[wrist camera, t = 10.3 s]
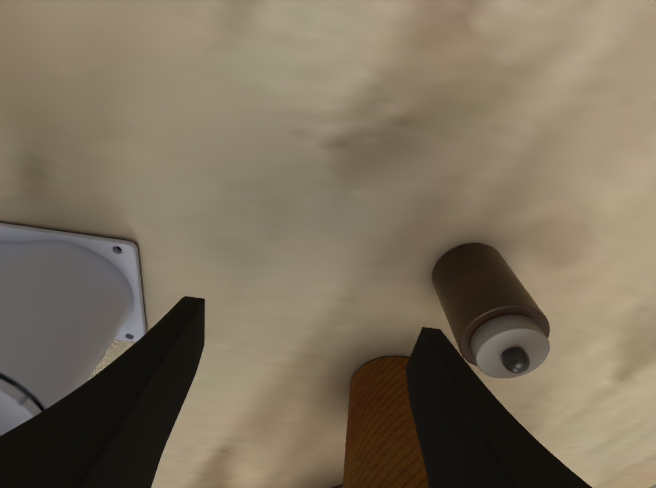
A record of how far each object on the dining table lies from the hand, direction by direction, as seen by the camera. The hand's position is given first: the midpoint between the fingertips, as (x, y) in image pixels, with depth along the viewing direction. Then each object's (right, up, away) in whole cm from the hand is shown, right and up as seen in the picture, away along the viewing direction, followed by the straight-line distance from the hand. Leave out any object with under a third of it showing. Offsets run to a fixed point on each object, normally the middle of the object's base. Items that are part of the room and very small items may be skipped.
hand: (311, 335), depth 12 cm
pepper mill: (+9, +1, +11) cm, 14 cm away
